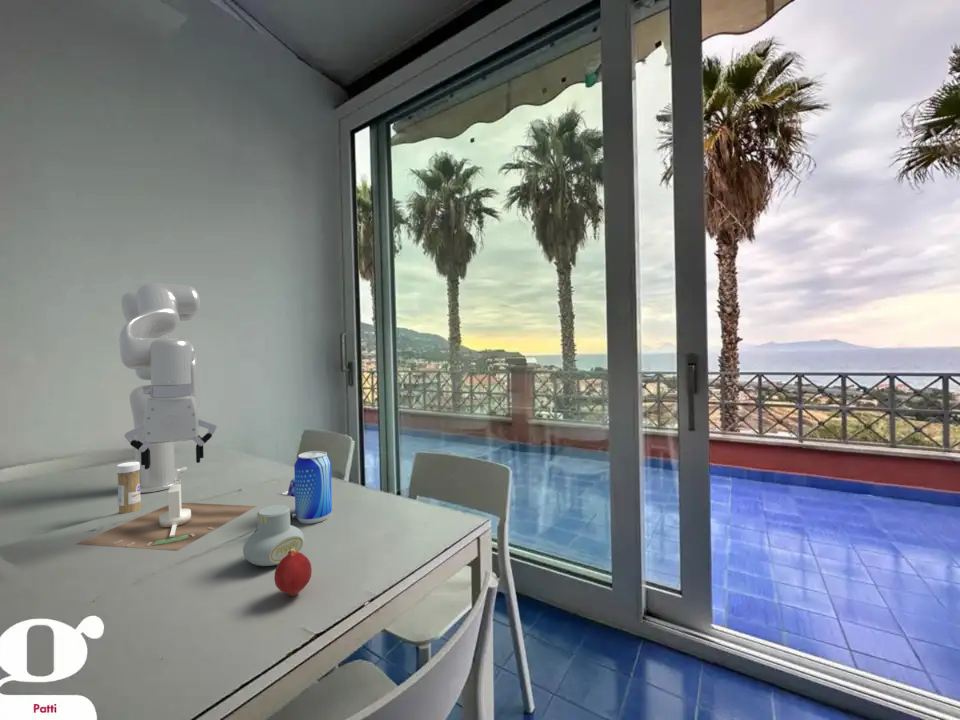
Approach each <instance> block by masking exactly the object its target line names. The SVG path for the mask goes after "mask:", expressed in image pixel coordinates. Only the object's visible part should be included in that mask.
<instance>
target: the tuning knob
mask: <svg viewBox="0 0 960 720" xmlns="http://www.w3.org/2000/svg"><path fill="white" fill-rule="evenodd" d="M167 496H168V497H167V498H168V500H167V502H168V503H167V504H168V505H169V511H168V512H165V513H163V514H161V515H160V516H159V521H160V526H161V527H172V529H171V532H170V537H174V536H175V531H176V527H177V526H178V525H182V524H185V523H187V522H189V521H190V520H191V510H190V509H186V508H184V509H182V505H181V503H182V483H180V484H176V485H171V486H170V488H169V489H168V493H167Z"/></svg>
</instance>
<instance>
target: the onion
mask: <svg viewBox="0 0 960 720" xmlns="http://www.w3.org/2000/svg"><path fill="white" fill-rule="evenodd" d="M312 568H313V567H312V563H311V561H310V559H309V558H308V557H307V556H306V555H304V554H303V553H301V552H300V551H299V552H297V551H296V550H295V549H291V550H290V551H289V552H288V555H286V556H285V557H284V558H283V559H282V560H281V561H280V563H279V564H278V565H276V568H275V571H274V584H275V587H277V589H278V590H279V591H281V592H282V593H284V594H287V595H289V596H290V597H295V596H296V595H298V594H299V593H300V592H301V591H302V590H303V589H305V587H307V585H308V583H309V582H310V580H311V578H312V573H313V572H312V571H313V569H312Z"/></svg>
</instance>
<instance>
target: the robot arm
mask: <svg viewBox="0 0 960 720" xmlns="http://www.w3.org/2000/svg"><path fill="white" fill-rule="evenodd" d="M120 303H121V309H122V313H123V316H124V318H125V321H126V323H125V324H124V325H123V327H122V328H121V331H120V332H119V341H118V342H119V355H120V359H121V362H122V364H123V365H124V366H125V367H126V368H128V369H131V370H135V374H136V377H137V378H138V379H141V380H145V381H150V384H147V385H146V384H145V385H141V386H138V387H136V388H134V389H133V390H132V391H131V392H130V394H129V405H130V409H131V413H132V420H133V426H134V427H133V429H130V430H129V431H127V432H125V433H124V438H125V439H126V440H127V442H129V445H131V447H133V448H134V451H135V462H139V463H140V469H139V470H140V471H139V478H140V494H145V493H146V494H147V493H155V492H159V491H160V492H161V491H164V490H169V489H170V486H171V485H176V484H182V478H181V477H179V475H180V474H183V473H186V472H187V471H188V467H187V466H185V465H183V466H180V467H176V466H175V465H176V464H175V462H176V461H175V442H184V441H185V442H186V441H193V442H195V443H196V446H195V460H196V461H195V462H196V463H197V464H198V463H199V464H200V463H201V459H204V457H205V456H204V445H205V444H206V443H207V442H208V441H209V440H210V439H211V438H212V437H213V435H214V433H215V431H216V429H217V425H216V424H214V423H211V422H207V421H205V420H202V419H200V418H199V407H200V401H201V394H200V393H201V392H200V373H199V371H200V370H199V361H198V358H197V354H196V352H195V347H194V344H192V343H191V342H190V340H188V339H185V338H180V337H179V338H178V337H175V338H174V337H169V334H170V333H172V332H174V331H175V330H177V328H178V327H179V325H180V322H181V321H182V322H187V321H191V320H192V319H193V318H194V317H195V316H196V315H197V314H198V313H199V311H200V308H201V298H200V295H199V292H198V291H197V289H196V288H194V287H193V286H191V285H186V284H177V283H176V284H175V283H163V282H147V283H145V284H143V285H141V286H139V288H138V289H137V290H133V291H128V292H125V293H124V294H122V296H121V299H120ZM200 427H202V428H205V429H208V431H207V432H206V434H205V435H203V436H201V435H199V433H200Z"/></svg>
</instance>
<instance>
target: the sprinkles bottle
mask: <svg viewBox="0 0 960 720" xmlns="http://www.w3.org/2000/svg"><path fill="white" fill-rule="evenodd" d="M139 469H140V463H139V462H136V461H130V462H129V461H128V462H123V463H119V464H117V465H116V473H117V497H118V499H117V500H118V504H117V505H118V512H119V513H118V514H129V513H133V512H136V511H140V510H141V507H142V506H141V498H142V497H141V493H140V478H139V471H140V470H139Z"/></svg>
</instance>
